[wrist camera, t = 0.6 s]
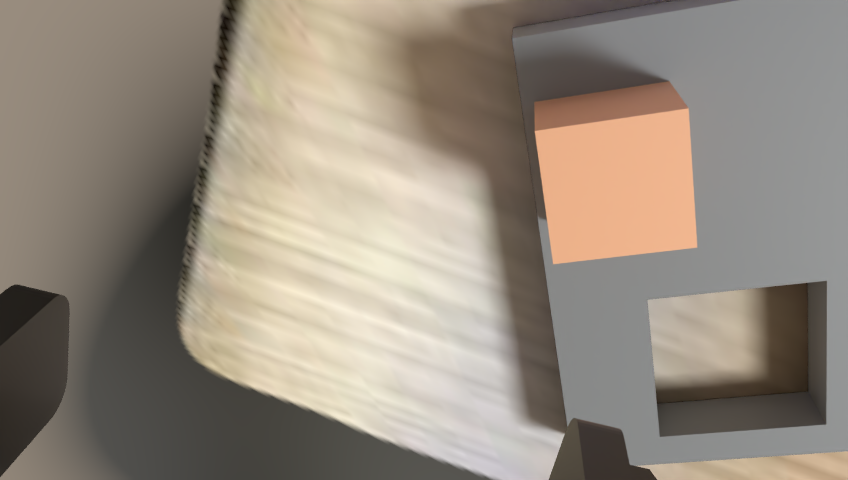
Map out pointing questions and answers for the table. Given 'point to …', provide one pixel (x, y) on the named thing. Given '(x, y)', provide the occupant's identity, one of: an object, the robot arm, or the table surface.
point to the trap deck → (710, 213)
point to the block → (616, 173)
